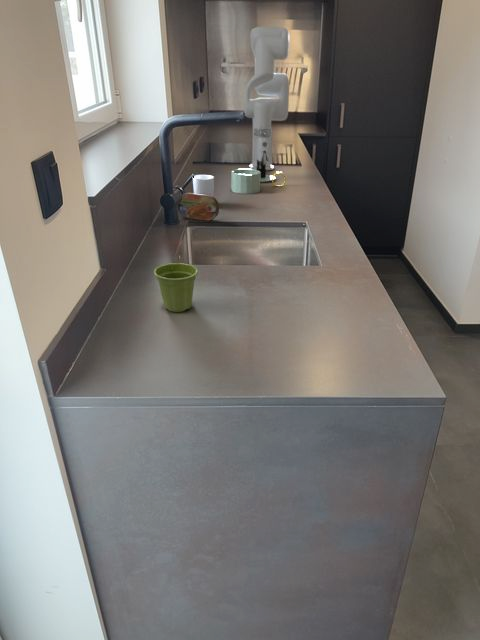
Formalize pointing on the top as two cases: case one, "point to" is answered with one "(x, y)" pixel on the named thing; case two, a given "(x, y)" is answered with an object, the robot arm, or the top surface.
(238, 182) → the crock
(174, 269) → the plant pot
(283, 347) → the top surface
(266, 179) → the lid
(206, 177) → the white cup
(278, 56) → the robot arm
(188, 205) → the tin
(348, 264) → the top surface
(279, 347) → the top surface
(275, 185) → the gold ring
